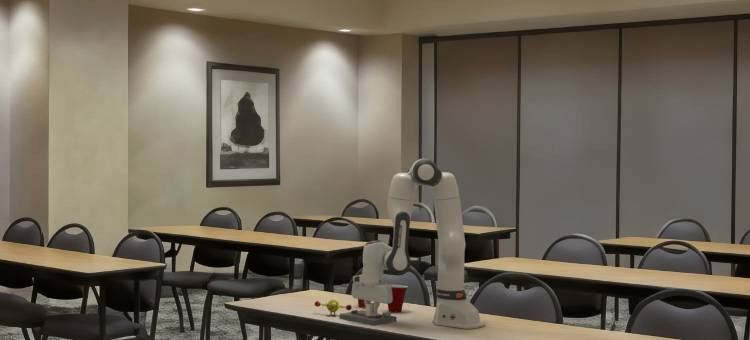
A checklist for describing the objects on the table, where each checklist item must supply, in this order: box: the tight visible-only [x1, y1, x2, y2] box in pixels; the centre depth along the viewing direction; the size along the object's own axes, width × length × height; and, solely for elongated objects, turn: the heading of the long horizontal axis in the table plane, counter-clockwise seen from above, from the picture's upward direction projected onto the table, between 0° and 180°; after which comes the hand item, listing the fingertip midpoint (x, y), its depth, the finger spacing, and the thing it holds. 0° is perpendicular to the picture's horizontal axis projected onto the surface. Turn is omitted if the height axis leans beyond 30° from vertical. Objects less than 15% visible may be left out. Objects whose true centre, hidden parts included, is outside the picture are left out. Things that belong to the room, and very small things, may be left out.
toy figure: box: [314, 299, 353, 317], centre depth 410 cm, size 18×6×7 cm, turn 64°
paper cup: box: [357, 299, 372, 309], centre depth 435 cm, size 8×8×14 cm
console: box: [339, 309, 397, 326], centre depth 402 cm, size 20×14×4 cm
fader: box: [365, 302, 378, 316], centre depth 400 cm, size 2×5×5 cm, turn 138°
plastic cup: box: [387, 284, 409, 313], centre depth 425 cm, size 11×11×12 cm
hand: (371, 311), depth 400 cm, fingers closed on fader, 2 cm apart
